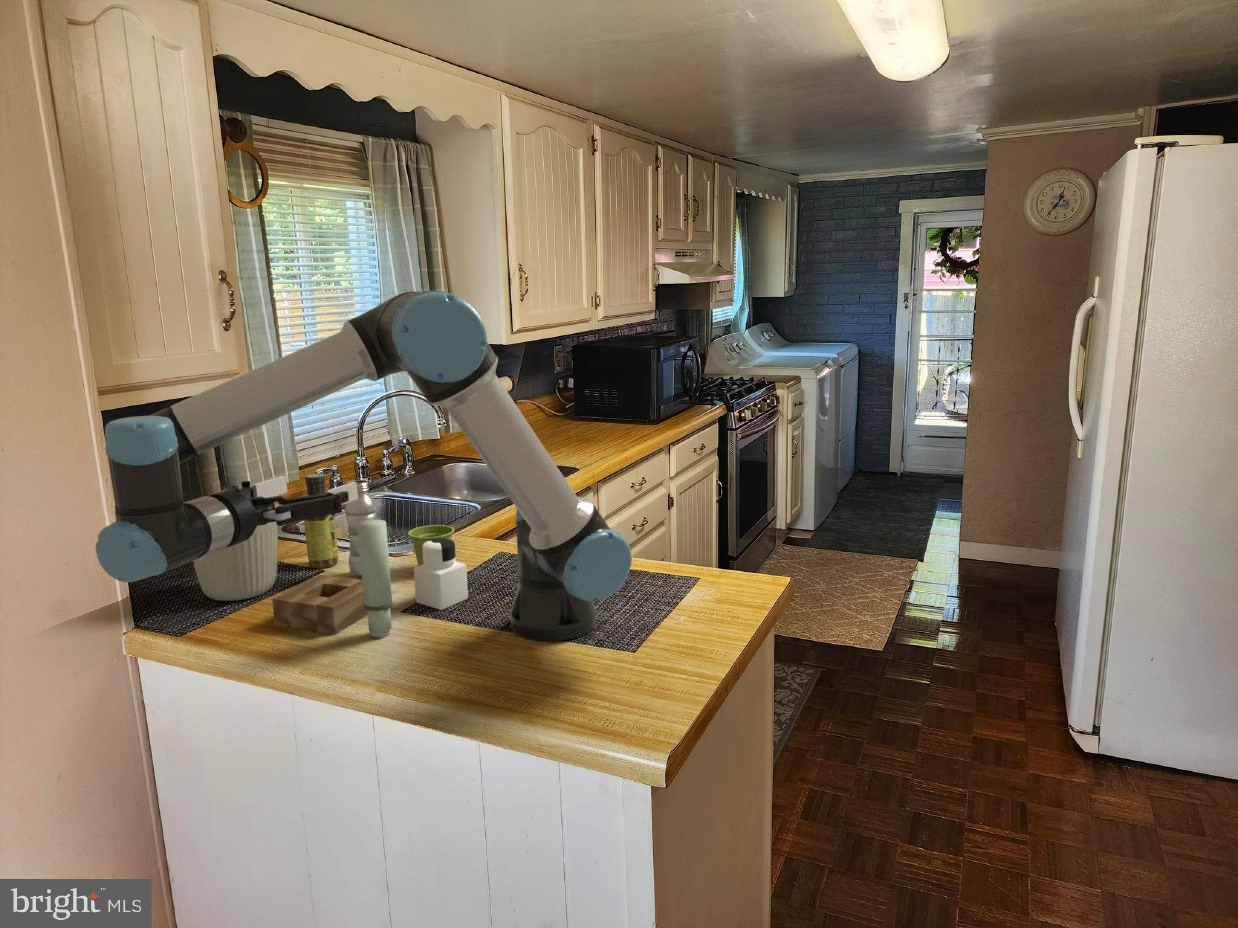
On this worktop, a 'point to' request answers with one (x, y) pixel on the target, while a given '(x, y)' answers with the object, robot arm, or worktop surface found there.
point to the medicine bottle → (440, 575)
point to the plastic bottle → (355, 514)
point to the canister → (241, 566)
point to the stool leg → (376, 576)
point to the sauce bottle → (320, 529)
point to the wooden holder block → (321, 605)
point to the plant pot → (428, 537)
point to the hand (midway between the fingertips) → (319, 487)
